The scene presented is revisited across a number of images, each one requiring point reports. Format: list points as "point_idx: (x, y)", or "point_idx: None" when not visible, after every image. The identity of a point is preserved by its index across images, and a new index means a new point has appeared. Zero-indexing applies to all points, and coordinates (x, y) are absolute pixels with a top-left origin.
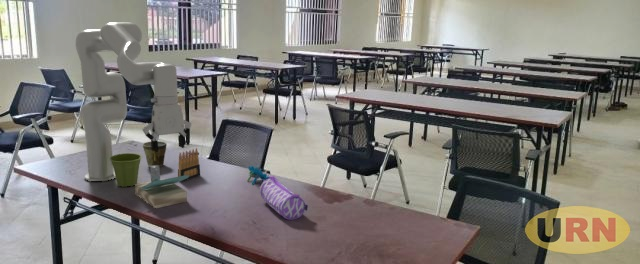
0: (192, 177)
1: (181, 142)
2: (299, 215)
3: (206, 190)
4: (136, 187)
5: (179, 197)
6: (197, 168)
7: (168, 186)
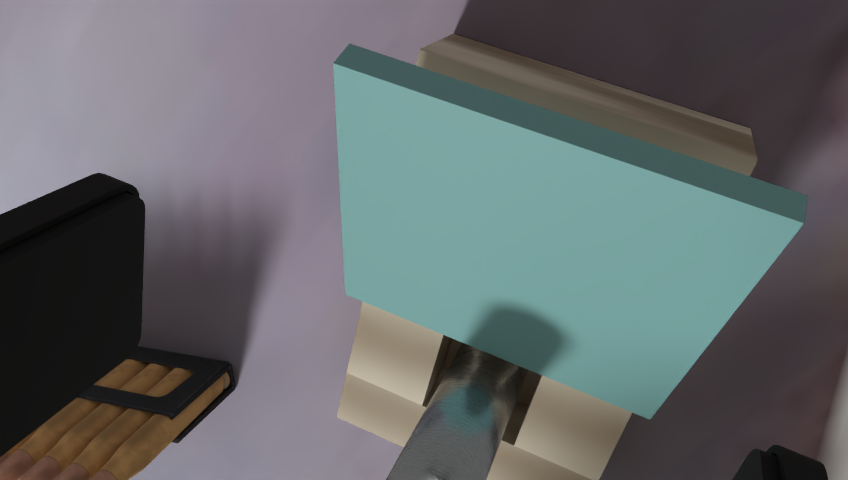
0: (139, 351)
1: (48, 281)
2: None
3: (202, 98)
4: None
5: (507, 63)
6: None
7: None
